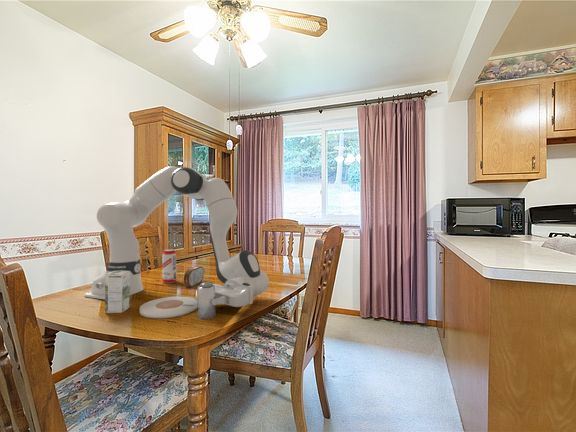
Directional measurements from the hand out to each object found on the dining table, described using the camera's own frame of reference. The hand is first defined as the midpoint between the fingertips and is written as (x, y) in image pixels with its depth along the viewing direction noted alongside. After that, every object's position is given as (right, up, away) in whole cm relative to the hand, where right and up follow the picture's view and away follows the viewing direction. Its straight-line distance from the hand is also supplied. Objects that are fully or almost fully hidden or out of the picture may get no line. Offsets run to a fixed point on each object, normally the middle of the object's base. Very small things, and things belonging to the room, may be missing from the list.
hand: (204, 300), depth 97 cm
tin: (-18, -6, +46) cm, 50 cm away
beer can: (-31, -5, +50) cm, 59 cm away
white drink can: (+1, -7, +1) cm, 7 cm away
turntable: (-14, -5, +8) cm, 17 cm away
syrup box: (-32, -7, +7) cm, 33 cm away
